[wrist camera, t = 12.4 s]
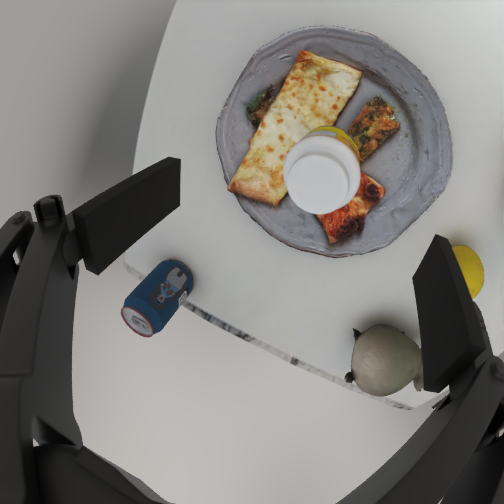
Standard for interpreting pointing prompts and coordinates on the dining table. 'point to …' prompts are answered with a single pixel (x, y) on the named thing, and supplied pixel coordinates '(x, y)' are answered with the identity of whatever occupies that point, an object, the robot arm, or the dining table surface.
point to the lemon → (470, 268)
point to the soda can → (157, 298)
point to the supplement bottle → (322, 170)
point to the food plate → (342, 116)
